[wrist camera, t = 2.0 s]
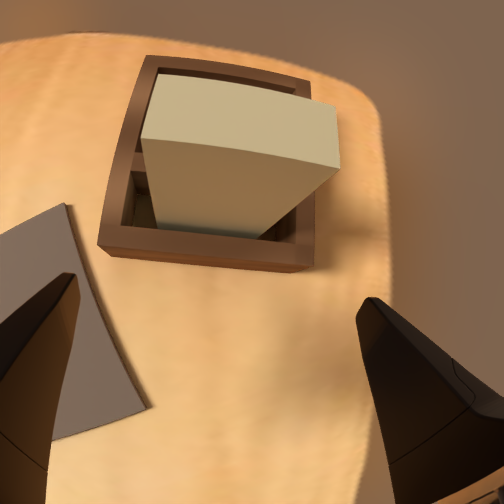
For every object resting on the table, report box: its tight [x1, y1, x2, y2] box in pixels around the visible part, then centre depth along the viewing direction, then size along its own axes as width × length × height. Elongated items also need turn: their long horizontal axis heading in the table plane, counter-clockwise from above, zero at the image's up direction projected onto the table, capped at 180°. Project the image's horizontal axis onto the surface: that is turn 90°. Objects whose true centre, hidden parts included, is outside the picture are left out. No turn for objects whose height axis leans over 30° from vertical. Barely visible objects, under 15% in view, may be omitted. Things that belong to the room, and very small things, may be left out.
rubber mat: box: [0, 202, 146, 440], centre depth 16 cm, size 15×15×1 cm
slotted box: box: [97, 55, 315, 273], centre depth 20 cm, size 14×12×4 cm
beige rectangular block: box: [141, 74, 340, 239], centre depth 15 cm, size 2×6×13 cm, turn 87°
